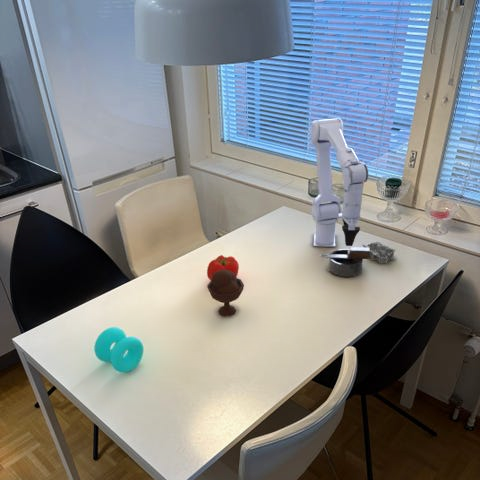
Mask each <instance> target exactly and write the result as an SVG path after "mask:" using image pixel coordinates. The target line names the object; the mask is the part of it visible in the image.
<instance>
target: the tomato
mask: <svg viewBox="0 0 480 480" xmlns="http://www.w3.org/2000/svg"><path fill="white" fill-rule="evenodd" d="M239 269H240V266H239V262H238V261H237V260H236V258H235V257H234V256H231V255H230V256H224V255H223V254H220V255H217V257H214V259H213V260H211V261H210V262H209V263H208V266H207V270H206V276H207V278H208V279H209V280H210V281H211V279H212V276H213V274H214V273H215V272H217V271H219V270H228V271H231V272H233V273H234V274H236V277H238V275H239V274H238V273H239Z"/></svg>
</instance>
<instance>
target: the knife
mask: <svg viewBox="0 0 480 480" xmlns="http://www.w3.org/2000/svg"><path fill="white" fill-rule="evenodd" d="M349 249H350V250H349V251H348V252H347V255H342V254H331V253H322V254H320V257H321V258H322V259H329V258H347V259H363V260H369V259H370V257H369V254H370V248H364V247H363V246H361V247H359V246H349Z"/></svg>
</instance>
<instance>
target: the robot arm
mask: <svg viewBox="0 0 480 480" xmlns="http://www.w3.org/2000/svg"><path fill="white" fill-rule="evenodd" d="M309 128H310V129H309V132H310V134H309V135H310V143H311V146H312V147H314V148H315V156H316V157H315V158H316V169H317V183H318V184H317V185H318V195H317V196H316V197H315V198H314V199H313V200H312V202H311V217H312V220H313V221H315V231H314V232H315V233H314V234H313V246H314V247H322V248H324V247H325V248H326V247H327V248H335V247H336V234H335V233H336V223H337V222H338V220H339V219H342V222H343V225H342V226H341V229H342V232H343V235H344V242H345V243H344V244H345V246H346V247H353V245H354V242H355V239H356V238H357V237H356V236H357V235H358V234H359V232H360V231H361V226H356V225H357V223H358V222H359V220H360V219H361V216H362V215H361V209H362V202H363V192H364V185H365V184H364V183H367V182H368V180H369V169H368V166H367V164H366V163H365V162H363V161H360V160H359V158H358V156H357V155H356V153H355V151H354V149H353V148H352V147H349V146H348V145H347V143H346V140H345V137H344V135H343V134H344V122H343V120H342V119H341V118H340V117H335V118H328V119H319V120H317V119H315V120H313V121H312V122H311V123H310V127H309ZM331 147H333V149H334V150H335V152H336V157H335V158H336V161H337V163H338V165H339V167H340V169H341V171H342V174H341V175H342V176H341V177H342V186H343V187H342V188H343V191H344V192H343V202H342V204H341V199H340V197H339V196H337V195H336V194H334V189H333V173H332V160H331V158H332V157H331Z"/></svg>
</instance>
